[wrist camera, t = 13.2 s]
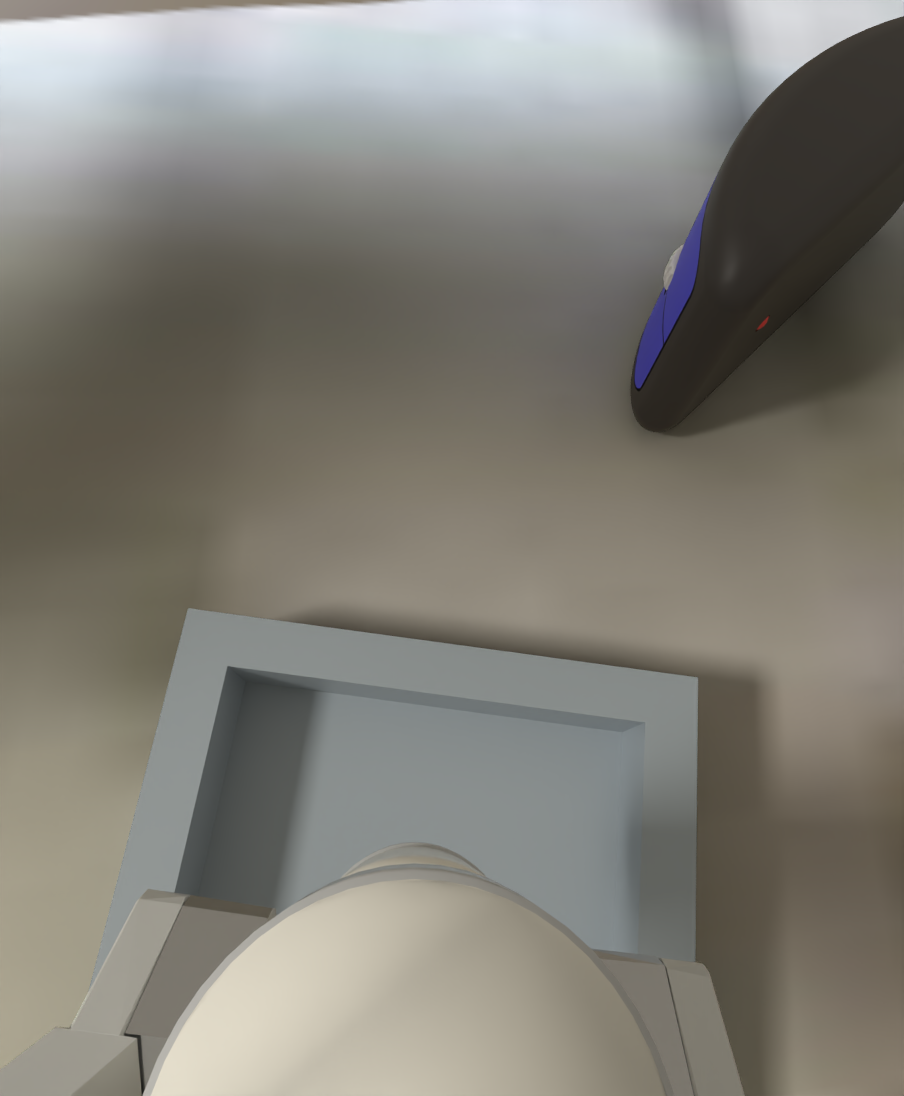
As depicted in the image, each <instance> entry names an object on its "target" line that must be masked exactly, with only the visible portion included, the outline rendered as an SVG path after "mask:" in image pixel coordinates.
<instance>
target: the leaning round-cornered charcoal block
mask: <svg viewBox="0 0 904 1096" xmlns="http://www.w3.org/2000/svg"><path fill="white" fill-rule="evenodd" d="M903 202H904V16H903V17H900V18H897V19H893V20H890V21H887V22H884V23H882V24H879V25H876V26H874V27H871V28H868V29H866V30H864V31H862V32H860V33H857V34H855V35H853V36H851V37H849V38H847V39H845V40H843V41H841V42H839V43H837V44H835V45H834V46H832V47H830V48H829V49H827V50H825V51H824V52H822V53H821V54H819V55H818V56H816V57H815V58H813V59H812V60H810V61H809V62H807V63H806V64H804V65H803V66H802V67H801V68H799V69H798V70H797V71H796V72H794V73H793V74H792V75H791V76H790V77H788V78H787V79H786V80H785V81H784V82H783V83H782V84H781V85H780V86H779V87H777V88H776V89H775V90H774V91H773V92H772V93H771V94H770V95H769V96H768V97H767V99H766V100H765V101H764V102H763V103H762V104H761V105H760V106H759V108H758V109H757V110H756V111H755V112H754V114H753V115H752V116H751V118H750V119H749V120H748V122H747V123H746V124H745V126H744V127H743V129H742V130H741V132H740V133H739V135H738V136H737V138H736V140H735V141H734V143H733V145H732V146H731V148H730V150H729V152H728V154H727V156H726V158H725V160H724V162H723V164H722V166H721V168H720V170H719V172H718V174H717V176H716V178H715V180H714V182H713V185H712V187H711V189H710V191H709V193H708V195H707V197H706V199H705V201H704V204H703V206H702V208H701V210H700V212H699V214H698V216H697V218H696V220H695V222H694V225H693V227H692V229H691V231H690V233H689V235H688V237H687V239H686V241H685V244H683V245H681V246H680V247H679V248H678V249H676V250H675V251H674V252H673V254H672V256H671V257H670V260H669V262H668V264H667V266H666V268H665V271H664V276H663V281H664V288H663V290H662V292H661V294H660V296H659V298H658V300H657V302H656V304H655V307H654V309H653V311H652V313H651V315H650V317H649V319H648V321H647V324H646V326H645V329H644V331H643V334H642V336H641V339H640V342H639V346H638V349H637V352H636V357H635V361H634V366H633V372H632V379H631V403H632V408H633V412H634V415H635V417H636V420H637V421H638V423H639V424H640V425H641V426H642V427H643V428H645V429H647V430H649V431H653V432H662V431H666V430H668V429H671V428H672V427H674V426H676V425H677V424H678V423H680V422H681V421H682V420H683V419H684V418H685V417H687V416H688V415H689V414H690V413H691V412H692V411H693V410H694V409H695V408H696V407H697V406H698V405H699V404H700V403H701V402H702V401H703V400H704V399H705V398H706V397H707V396H708V395H709V394H710V393H711V392H712V391H714V390H715V389H716V388H717V387H718V386H719V385H720V384H721V383H722V382H723V381H724V380H725V379H726V378H727V377H728V376H729V375H730V374H731V373H732V372H733V371H734V370H735V369H736V368H737V367H738V366H739V365H740V364H741V363H742V362H744V361H745V360H746V359H747V358H748V357H749V356H750V355H751V354H752V353H753V352H754V351H755V350H756V349H757V348H758V347H759V346H760V345H761V344H762V343H763V342H764V341H765V340H766V339H767V338H768V337H769V336H770V335H771V334H772V333H774V332H775V331H776V330H777V329H778V328H779V327H780V326H781V325H782V324H783V323H784V322H785V321H786V320H787V319H788V318H789V317H790V316H791V315H792V314H793V313H794V312H795V311H796V310H797V309H798V308H799V307H800V306H801V305H802V304H804V303H805V302H806V301H807V300H808V299H809V298H810V297H811V296H812V295H813V294H814V293H815V292H816V291H817V290H818V289H819V288H820V287H821V286H822V285H823V284H824V283H825V282H826V281H827V280H828V279H829V278H830V277H831V276H832V275H834V274H835V273H836V272H837V271H838V270H839V269H840V268H841V267H842V266H843V265H844V264H845V263H846V262H847V261H848V260H849V259H850V258H851V257H852V256H853V255H854V254H855V253H856V252H857V251H858V250H859V249H860V248H861V247H862V246H864V245H865V244H866V243H867V242H868V241H869V240H870V239H871V238H872V237H873V236H874V235H875V234H876V233H877V232H878V231H879V230H880V229H881V228H882V227H883V225H884V224H885V223H886V222H887V221H888V220H889V219H890V218H891V217H892V216H893V214H894V213H895V212H896V211H897V210H898V208H899V207H900V206H901V205H902V203H903Z"/></svg>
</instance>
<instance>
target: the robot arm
mask: <svg viewBox="0 0 904 1096" xmlns="http://www.w3.org/2000/svg"><path fill="white" fill-rule="evenodd" d="M275 916H276V909H275V908H268V907H262V906H256V905H250V904H244V903H238V902H231V901H225V900H219V899H213V898H207V897H201V896H194V895H188V894H181V893H174V892H167V891H160V890H153V889H147V890H146V891H145V892H144V894H143V895H142V896H141V897H140V898H139V899H138V900H137V901H136V903H135V905H134V907H133V909H132V911H131V912H130V914H129V916H128V918H127V920H126V922H125V924H124V926H123V928H122V930H121V931H120V933H119V935H118V937H117V939H116V941H115V943H114V945H113V947H112V949H111V950H110V952H109V954H108V956H107V958H106V960H105V962H104V964H103V966H102V968H101V969H100V971H99V973H98V975H97V977H96V979H95V981H94V983H93V985H92V986H91V988H90V990H89V992H88V994H87V996H86V998H85V1000H84V1002H83V1004H82V1005H81V1007H80V1009H79V1011H78V1013H77V1015H76V1017H75V1019H74V1021H73V1023H72V1024H71V1026H70V1028H64V1027H55V1028H53V1029H52V1030H51V1031H49V1032H48V1033H47V1034H46V1035H44V1036H43V1037H42V1038H40V1039H39V1040H38V1041H37V1042H35V1043H34V1044H33V1045H31V1046H30V1047H29V1048H27V1049H26V1050H25V1051H24V1052H22V1053H21V1054H20V1055H18V1056H17V1057H16V1058H14V1059H13V1060H12V1061H11V1062H9V1063H8V1064H7V1065H5V1066H4V1067H3V1068H1V1069H0V1096H143V1093H144V1091H145V1088H146V1086H147V1083H148V1081H149V1078H150V1076H151V1073H152V1071H153V1068H154V1066H155V1063H156V1061H157V1058H158V1056H159V1055H160V1053H161V1051H162V1049H163V1047H164V1045H165V1043H166V1041H167V1040H168V1038H169V1036H170V1034H171V1032H172V1030H173V1028H174V1026H175V1025H176V1023H177V1021H178V1019H179V1018H180V1016H181V1015H182V1014H183V1012H184V1011H185V1009H186V1008H187V1006H188V1005H189V1003H190V1002H191V1000H192V999H193V997H194V996H195V994H196V993H197V992H198V990H199V989H200V987H201V986H202V985H203V984H204V982H205V981H206V980H207V979H208V978H209V977H210V976H211V974H212V973H213V972H214V971H215V970H216V969H217V967H218V966H219V965H220V964H221V963H222V962H223V960H224V959H225V958H226V957H227V956H228V955H229V954H230V953H231V952H233V951H234V950H235V949H236V948H237V947H238V946H239V945H240V944H241V943H242V942H243V941H245V940H246V939H247V938H248V937H249V936H250V935H251V934H252V933H253V932H254V931H256V930H257V929H259V928H260V927H261V926H263V925H264V924H266V923H267V922H268V921H270V920H271V919H273V918H274V917H275ZM592 950H593V951H594V952H595V954H596V955H597V956H598V957H599V958H600V959H601V961H602V962H603V963H604V964H605V965H606V967H607V968H608V969H609V970H610V971H611V972H612V974H613V975H614V976H615V977H616V978H617V980H618V981H619V983H620V984H621V986H622V987H623V989H624V990H625V992H626V993H627V995H628V996H629V998H630V999H631V1001H632V1002H633V1004H634V1005H635V1007H636V1008H637V1010H638V1011H639V1013H640V1015H641V1017H642V1019H643V1021H644V1023H645V1025H646V1027H647V1029H648V1031H649V1033H650V1035H651V1037H652V1039H653V1041H654V1043H655V1045H656V1047H657V1049H658V1052H659V1054H660V1057H661V1060H662V1062H663V1065H664V1067H665V1070H666V1073H667V1075H668V1078H669V1081H670V1083H671V1086H672V1090H673V1094H674V1096H745V1093H744V1090H743V1087H742V1083H741V1080H740V1076H739V1073H738V1069H737V1066H736V1062H735V1059H734V1055H733V1052H732V1048H731V1045H730V1041H729V1038H728V1035H727V1031H726V1028H725V1024H724V1021H723V1017H722V1014H721V1010H720V1007H719V1003H718V1000H717V996H716V993H715V989H714V986H713V983H712V979H711V976H710V973H709V971H708V970H707V968H706V967H705V966H704V964H702V963H698V962H689V961H681V960H673V959H665V958H657V957H656V956H651V955H643V954H634V953H626V952H617V951H608V950H600V949H592Z"/></svg>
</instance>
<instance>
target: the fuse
mask: <svg viewBox="0 0 904 1096" xmlns="http://www.w3.org/2000/svg"><path fill="white" fill-rule="evenodd" d="M143 1096H674V1094H673V1090H672V1086H671V1083H670V1081H669V1078H668V1075H667V1073H666V1070H665V1067H664V1065H663V1062H662V1060H661V1057H660V1054H659V1052H658V1049H657V1047H656V1045H655V1043H654V1041H653V1039H652V1037H651V1035H650V1033H649V1031H648V1029H647V1027H646V1025H645V1023H644V1021H643V1019H642V1017H641V1015H640V1013H639V1011H638V1010H637V1008H636V1007H635V1005H634V1004H633V1002H632V1001H631V999H630V998H629V996H628V995H627V993H626V992H625V990H624V989H623V987H622V986H621V984H620V983H619V981H618V980H617V978H616V977H615V976H614V975H613V974H612V972H611V971H610V970H609V969H608V968H607V967H606V965H605V964H604V963H603V962H602V961H601V959H600V958H599V957H598V956H597V955H596V954H595V952H594V951H593V950H592V949H591V948H589V947H588V946H587V945H586V944H585V943H584V942H583V941H582V940H581V939H580V938H579V937H578V936H576V935H575V934H574V933H573V932H572V931H571V930H570V929H569V928H568V927H567V926H565V925H564V924H562V923H561V922H559V921H558V920H557V919H555V918H554V917H552V916H551V915H550V914H548V913H547V912H545V911H544V910H543V909H541V908H540V907H538V906H537V905H535V904H534V903H532V902H531V901H529V900H528V899H526V898H525V897H523V896H522V895H520V894H519V893H517V892H515V891H513V890H511V889H509V888H507V887H506V886H504V885H502V884H500V883H498V882H496V881H494V880H492V879H489V878H487V877H486V876H485V875H484V873H482V872H481V871H480V870H479V869H478V868H477V867H476V866H475V865H474V864H472V863H471V862H470V861H468V860H467V859H465V858H464V857H462V856H461V855H459V854H458V853H456V852H454V851H452V850H450V849H448V848H445V847H442V846H439V845H435V844H431V843H425V842H405V843H399V844H394V845H390V846H387V847H385V848H382V849H379V850H377V851H375V852H373V853H372V854H370V855H368V856H366V857H365V858H363V859H362V860H361V861H359V862H358V863H356V864H355V865H353V866H352V867H351V868H350V869H349V870H348V871H347V872H346V873H345V874H344V875H343V876H342V877H341V878H340V879H338V880H335V881H333V882H331V883H329V884H327V885H325V886H323V887H322V888H320V889H318V890H316V891H314V892H312V893H310V894H308V895H307V896H305V897H304V898H302V899H301V900H299V901H298V902H296V903H295V904H293V905H291V906H290V907H288V908H287V909H285V910H284V911H282V912H281V913H280V914H278V915H277V916H275V917H274V918H273V919H271V920H270V921H268V922H267V923H266V924H264V925H263V926H261V927H260V928H259V929H257V930H256V931H254V932H253V933H252V934H251V935H250V936H249V937H248V938H247V939H246V940H245V941H243V942H242V943H241V944H240V945H239V946H238V947H237V948H236V949H235V950H234V951H233V952H231V953H230V954H229V955H228V956H227V957H226V958H225V959H224V960H223V962H222V963H221V964H220V965H219V966H218V967H217V969H216V970H215V971H214V972H213V973H212V974H211V976H210V977H209V978H208V979H207V980H206V981H205V982H204V984H203V985H202V986H201V987H200V989H199V990H198V992H197V993H196V994H195V996H194V997H193V999H192V1000H191V1002H190V1003H189V1005H188V1006H187V1008H186V1009H185V1011H184V1012H183V1014H182V1015H181V1016H180V1018H179V1019H178V1021H177V1023H176V1025H175V1026H174V1028H173V1030H172V1032H171V1034H170V1036H169V1038H168V1040H167V1041H166V1043H165V1045H164V1047H163V1049H162V1051H161V1053H160V1055H159V1056H158V1058H157V1061H156V1063H155V1066H154V1068H153V1071H152V1073H151V1076H150V1078H149V1081H148V1083H147V1086H146V1088H145V1091H144V1093H143Z"/></svg>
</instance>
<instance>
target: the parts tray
mask: <svg viewBox="0 0 904 1096" xmlns="http://www.w3.org/2000/svg"><path fill="white" fill-rule="evenodd" d="M697 737H698V677H691V676H684V675H676V674H669V673H662V672H654V671H647V670H640V669H632V668H625V667H617V666H610V665H603V664H595V663H588V662H581V661H573V660H566V659H559V658H551V657H544V656H536V655H529V654H522V653H514V652H507V651H500V650H492V649H485V648H477V647H470V646H463V645H455V644H448V643H441V642H433V641H426V640H419V639H411V638H404V637H396V636H389V635H382V634H374V633H367V632H360V631H352V630H345V629H337V628H330V627H323V626H315V625H308V624H301V623H293V622H286V621H279V620H271V619H264V618H256V617H249V616H242V615H234V614H227V613H220V612H212V611H205V610H198V609H190V608H188V611H187V615H186V618H185V622H184V626H183V630H182V634H181V638H180V642H179V645H178V649H177V653H176V657H175V661H174V665H173V668H172V672H171V676H170V680H169V684H168V688H167V692H166V695H165V699H164V703H163V707H162V711H161V715H160V718H159V722H158V726H157V730H156V734H155V738H154V742H153V745H152V749H151V753H150V757H149V761H148V765H147V768H146V772H145V776H144V780H143V784H142V788H141V791H140V795H139V799H138V803H137V807H136V811H135V815H134V818H133V822H132V826H131V830H130V834H129V838H128V841H127V845H126V849H125V853H124V857H123V861H122V865H121V868H120V872H119V876H118V880H117V884H116V888H115V891H114V895H113V899H112V903H111V907H110V911H109V915H108V918H107V922H106V926H105V930H104V934H103V938H102V941H101V945H100V949H99V953H98V957H97V961H96V965H95V968H94V972H93V976H92V980H91V984H90V988H91V986H92V985H93V983H94V981H95V979H96V977H97V975H98V973H99V971H100V969H101V968H102V966H103V964H104V962H105V960H106V958H107V956H108V954H109V952H110V950H111V949H112V947H113V945H114V943H115V941H116V939H117V937H118V935H119V933H120V931H121V930H122V928H123V926H124V924H125V922H126V920H127V918H128V916H129V914H130V912H131V911H132V909H133V907H134V905H135V903H136V901H137V900H138V899H139V898H140V897H141V896H142V895H143V894H144V892H145V891H146V890H147V889H153V890H160V891H167V892H174V893H181V894H188V895H194V896H201V897H207V898H213V899H219V900H225V901H231V902H238V903H244V904H250V905H256V906H262V907H268V908H275V909H276V916H277V915H278V914H280V913H281V912H282V911H284V910H285V909H287V908H288V907H290V906H291V905H293V904H295V903H296V902H298V901H299V900H301V899H302V898H304V897H305V896H307V895H308V894H310V893H312V892H314V891H316V890H318V889H320V888H322V887H323V886H325V885H327V884H329V883H331V882H333V881H335V880H338V879H340V878H341V877H342V876H343V875H344V874H345V873H346V872H347V871H348V870H349V869H350V868H351V867H352V866H353V865H355V864H356V863H358V862H359V861H361V860H362V859H363V858H365V857H366V856H368V855H370V854H372V853H373V852H375V851H377V850H379V849H382V848H385V847H387V846H390V845H394V844H399V843H405V842H425V843H431V844H435V845H439V846H442V847H445V848H448V849H450V850H452V851H454V852H456V853H458V854H459V855H461V856H462V857H464V858H465V859H467V860H468V861H470V862H471V863H472V864H474V865H475V866H476V867H477V868H478V869H479V870H480V871H481V872H482V873H484V875H485V876H486V877H487V878H489V879H492V880H494V881H496V882H498V883H500V884H502V885H504V886H506V887H507V888H509V889H511V890H513V891H515V892H517V893H519V894H520V895H522V896H523V897H525V898H526V899H528V900H529V901H531V902H532V903H534V904H535V905H537V906H538V907H540V908H541V909H543V910H544V911H545V912H547V913H548V914H550V915H551V916H552V917H554V918H555V919H557V920H558V921H559V922H561V923H562V924H564V925H565V926H567V927H568V928H569V929H570V930H571V931H572V932H573V933H574V934H575V935H576V936H578V937H579V938H580V939H581V940H582V941H583V942H584V943H585V944H586V945H587V946H588V947H589V948H591V949H600V950H608V951H617V952H626V953H634V954H643V955H651V956H656V957H657V958H665V959H673V960H681V961H689V962H695V951H696V844H697ZM90 988H89V990H90ZM88 992H89V991H88Z"/></svg>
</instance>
